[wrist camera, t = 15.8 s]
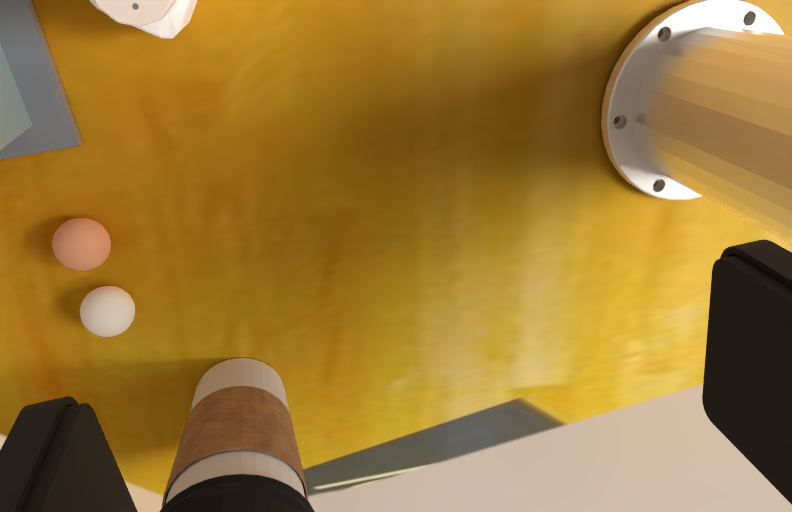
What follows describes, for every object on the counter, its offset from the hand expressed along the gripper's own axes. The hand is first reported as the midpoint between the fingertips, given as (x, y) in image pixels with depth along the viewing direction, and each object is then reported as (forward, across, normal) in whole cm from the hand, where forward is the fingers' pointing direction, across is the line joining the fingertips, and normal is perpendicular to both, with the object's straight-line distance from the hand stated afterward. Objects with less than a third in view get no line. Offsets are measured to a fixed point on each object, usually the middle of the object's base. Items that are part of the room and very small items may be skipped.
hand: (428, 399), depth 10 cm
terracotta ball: (+30, +14, +7) cm, 34 cm away
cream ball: (+30, +14, +11) cm, 35 cm away
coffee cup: (+31, +8, +20) cm, 37 cm away
